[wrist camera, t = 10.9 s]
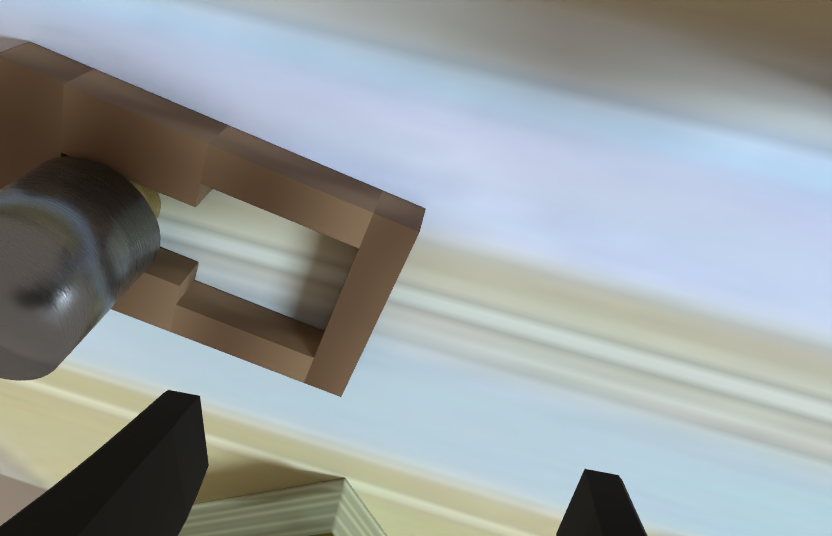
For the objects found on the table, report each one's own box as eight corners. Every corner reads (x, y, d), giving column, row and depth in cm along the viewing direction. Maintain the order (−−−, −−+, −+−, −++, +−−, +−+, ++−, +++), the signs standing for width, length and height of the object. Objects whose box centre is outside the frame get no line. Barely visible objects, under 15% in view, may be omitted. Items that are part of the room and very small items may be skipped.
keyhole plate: (425, 208, 19) (419, 232, 18) (350, 369, 24) (341, 397, 23) (30, 41, 18) (-6, 54, 17) (28, 244, 23) (0, 266, 21)
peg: (210, 207, 21) (96, 334, 15) (140, 269, 22) (15, 402, 17) (104, 107, 19) (-68, 207, 13) (39, 183, 21) (-135, 298, 15)
